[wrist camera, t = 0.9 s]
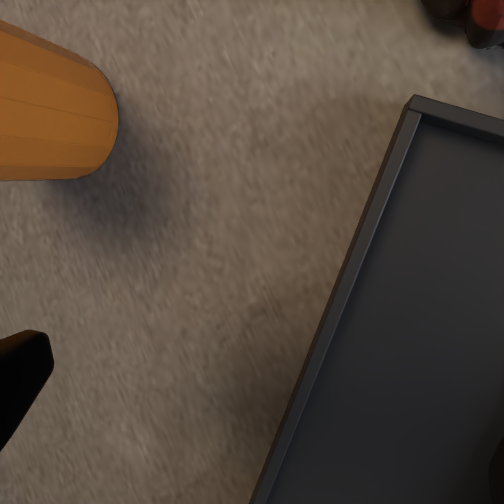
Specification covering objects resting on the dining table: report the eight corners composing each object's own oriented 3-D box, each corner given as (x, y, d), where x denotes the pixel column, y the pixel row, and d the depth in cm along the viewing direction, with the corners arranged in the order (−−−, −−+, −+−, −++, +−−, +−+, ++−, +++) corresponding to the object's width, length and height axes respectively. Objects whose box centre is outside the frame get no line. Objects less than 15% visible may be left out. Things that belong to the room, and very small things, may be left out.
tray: (426, 639, 24) (436, 695, 21) (232, 545, 25) (220, 586, 23) (693, 189, 17) (754, 192, 14) (404, 104, 19) (413, 93, 16)
